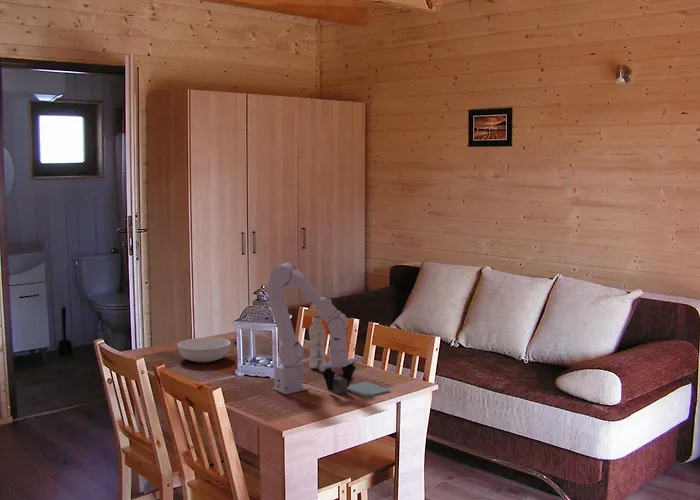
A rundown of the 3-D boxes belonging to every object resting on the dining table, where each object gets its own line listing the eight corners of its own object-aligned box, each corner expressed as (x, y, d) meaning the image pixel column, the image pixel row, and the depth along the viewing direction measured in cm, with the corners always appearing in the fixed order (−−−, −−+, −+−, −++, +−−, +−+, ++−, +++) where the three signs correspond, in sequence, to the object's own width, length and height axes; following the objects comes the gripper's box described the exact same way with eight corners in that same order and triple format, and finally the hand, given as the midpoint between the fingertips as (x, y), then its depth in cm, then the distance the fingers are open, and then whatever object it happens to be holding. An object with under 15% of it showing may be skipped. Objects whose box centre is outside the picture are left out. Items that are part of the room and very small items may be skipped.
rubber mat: (364, 397, 260) (364, 396, 260) (342, 388, 270) (342, 386, 270) (390, 391, 267) (390, 390, 266) (367, 383, 277) (367, 381, 277)
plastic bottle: (305, 369, 294) (305, 318, 292) (313, 365, 300) (313, 314, 298) (321, 371, 292) (321, 319, 289) (328, 367, 298) (328, 316, 295)
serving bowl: (242, 357, 311) (241, 341, 311) (205, 369, 294) (205, 352, 293) (203, 350, 322) (203, 334, 322) (166, 361, 305) (166, 344, 304)
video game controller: (336, 384, 280) (344, 368, 279) (325, 378, 281) (333, 362, 279) (341, 377, 290) (350, 361, 288) (331, 371, 290) (339, 355, 289)
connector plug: (341, 395, 262) (341, 381, 261) (323, 388, 271) (323, 374, 270) (349, 394, 264) (349, 380, 263) (331, 386, 272) (331, 373, 272)
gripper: (327, 355, 257) (327, 394, 259) (362, 348, 266) (362, 387, 267) (315, 350, 263) (315, 389, 264) (349, 344, 271) (349, 382, 273)
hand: (338, 388), depth 266 cm, fingers open, 6 cm apart
